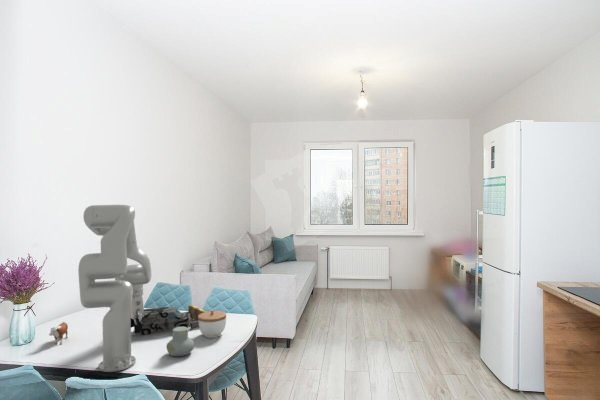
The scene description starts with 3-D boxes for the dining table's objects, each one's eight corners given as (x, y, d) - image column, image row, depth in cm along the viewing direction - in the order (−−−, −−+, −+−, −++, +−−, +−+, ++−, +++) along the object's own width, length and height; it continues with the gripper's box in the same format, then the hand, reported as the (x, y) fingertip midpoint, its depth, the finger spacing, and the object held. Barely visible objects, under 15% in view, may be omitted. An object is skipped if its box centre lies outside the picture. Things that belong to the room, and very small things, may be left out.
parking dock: (209, 325, 187) (209, 312, 187) (192, 329, 181) (191, 316, 181) (192, 316, 202) (191, 304, 201) (175, 320, 196) (175, 307, 196)
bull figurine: (47, 348, 160) (46, 329, 160) (60, 337, 173) (60, 319, 173) (58, 347, 161) (58, 328, 161) (71, 336, 174) (71, 318, 174)
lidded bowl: (212, 328, 182) (211, 305, 182) (232, 332, 176) (232, 309, 176) (192, 336, 171) (191, 312, 171) (212, 342, 165) (212, 316, 165)
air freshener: (164, 352, 154) (164, 328, 154) (183, 347, 160) (183, 323, 160) (177, 360, 146) (176, 334, 146) (196, 354, 152) (196, 329, 152)
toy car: (190, 331, 180) (190, 309, 179) (133, 337, 172) (133, 315, 172) (190, 323, 190) (190, 303, 190) (136, 329, 183) (136, 308, 183)
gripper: (149, 294, 169) (149, 332, 169) (136, 287, 182) (137, 323, 182) (131, 297, 164) (132, 337, 164) (119, 290, 177) (120, 327, 177)
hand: (134, 329), depth 173 cm, fingers open, 9 cm apart
